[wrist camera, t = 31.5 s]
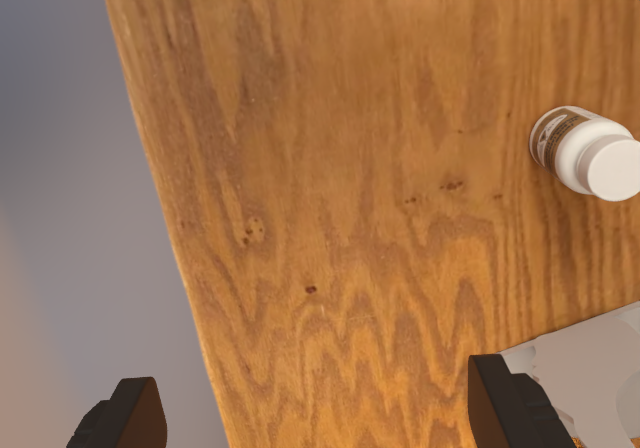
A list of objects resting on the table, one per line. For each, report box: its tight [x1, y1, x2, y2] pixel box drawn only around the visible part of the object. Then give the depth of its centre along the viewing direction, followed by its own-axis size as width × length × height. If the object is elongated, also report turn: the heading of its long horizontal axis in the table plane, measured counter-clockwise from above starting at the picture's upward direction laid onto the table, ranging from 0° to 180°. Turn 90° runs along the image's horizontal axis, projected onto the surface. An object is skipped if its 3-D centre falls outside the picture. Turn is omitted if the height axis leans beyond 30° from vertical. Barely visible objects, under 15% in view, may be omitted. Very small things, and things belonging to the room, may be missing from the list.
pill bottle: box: [529, 106, 640, 201], centre depth 32 cm, size 4×4×8 cm
